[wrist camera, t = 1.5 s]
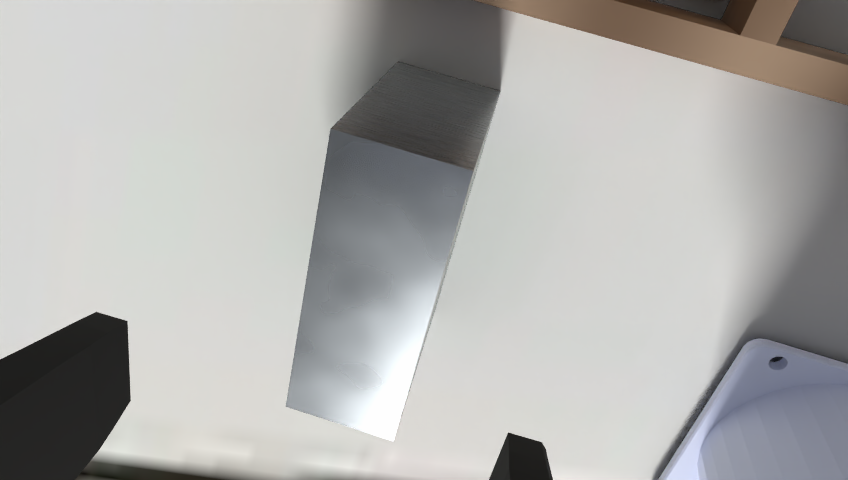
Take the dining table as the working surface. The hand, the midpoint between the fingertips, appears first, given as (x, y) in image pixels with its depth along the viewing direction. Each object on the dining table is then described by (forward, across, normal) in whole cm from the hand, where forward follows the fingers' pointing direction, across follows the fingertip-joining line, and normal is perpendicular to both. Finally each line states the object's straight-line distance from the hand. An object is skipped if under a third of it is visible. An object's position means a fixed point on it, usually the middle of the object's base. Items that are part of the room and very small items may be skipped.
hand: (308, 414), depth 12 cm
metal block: (+10, 0, 0) cm, 10 cm away
